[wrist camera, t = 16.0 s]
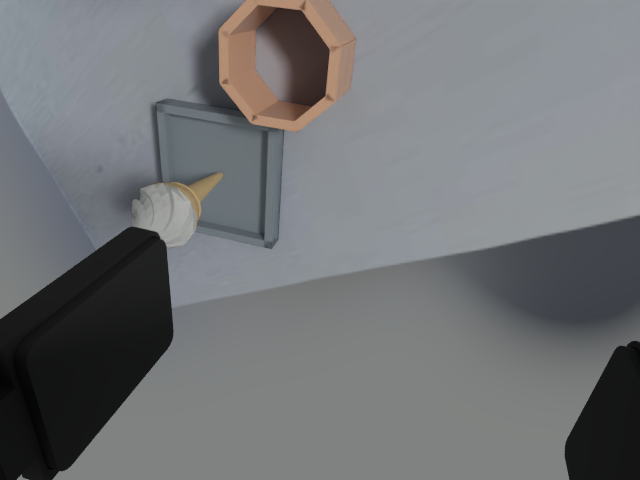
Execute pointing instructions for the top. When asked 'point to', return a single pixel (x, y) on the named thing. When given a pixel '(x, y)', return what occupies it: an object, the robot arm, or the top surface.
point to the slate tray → (225, 168)
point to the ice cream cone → (172, 208)
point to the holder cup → (249, 86)
